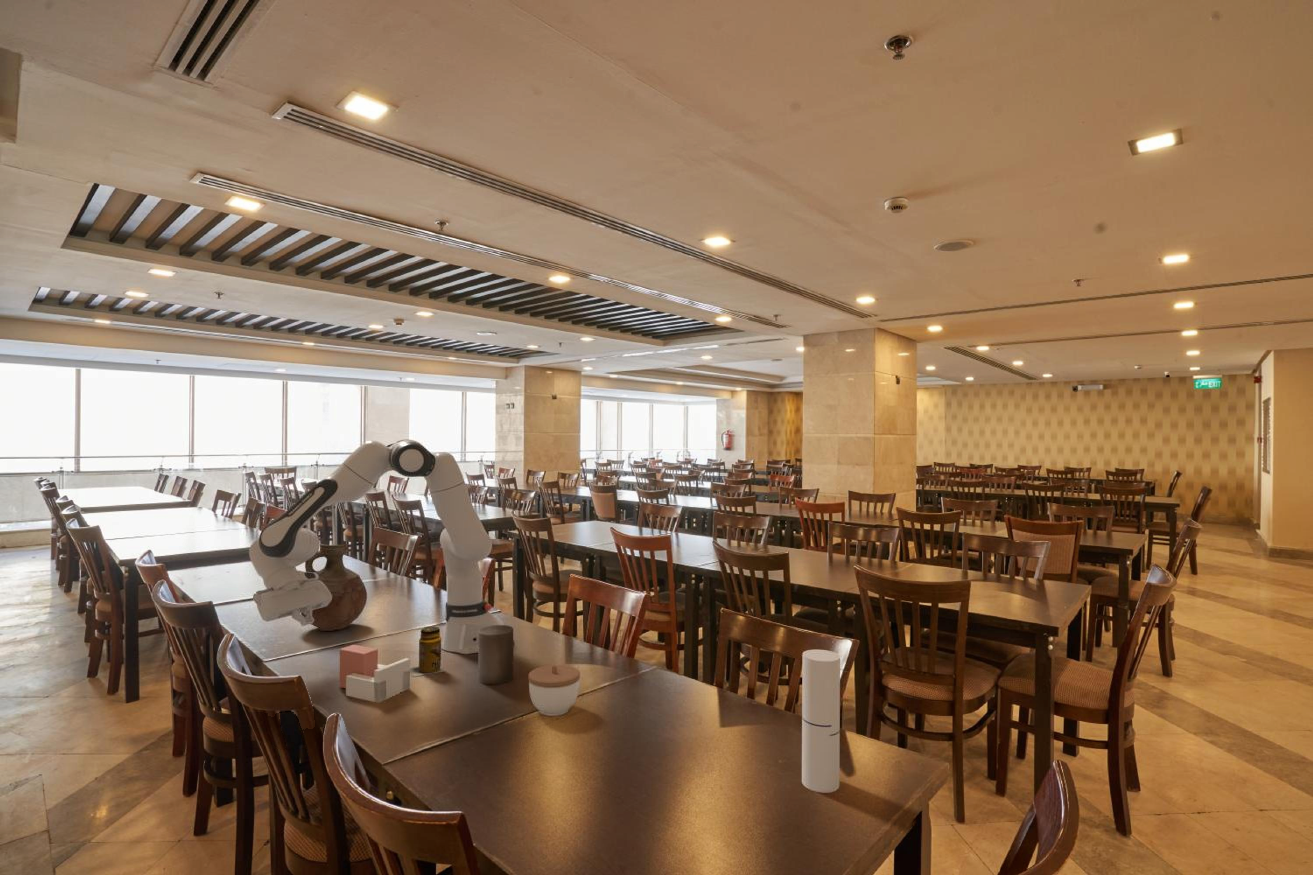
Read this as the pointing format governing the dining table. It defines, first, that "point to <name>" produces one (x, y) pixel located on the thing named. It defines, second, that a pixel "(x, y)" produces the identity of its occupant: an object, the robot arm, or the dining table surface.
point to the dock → (380, 682)
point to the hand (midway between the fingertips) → (308, 623)
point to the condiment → (429, 652)
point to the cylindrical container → (820, 720)
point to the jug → (337, 590)
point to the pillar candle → (495, 654)
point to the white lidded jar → (554, 688)
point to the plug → (357, 662)
